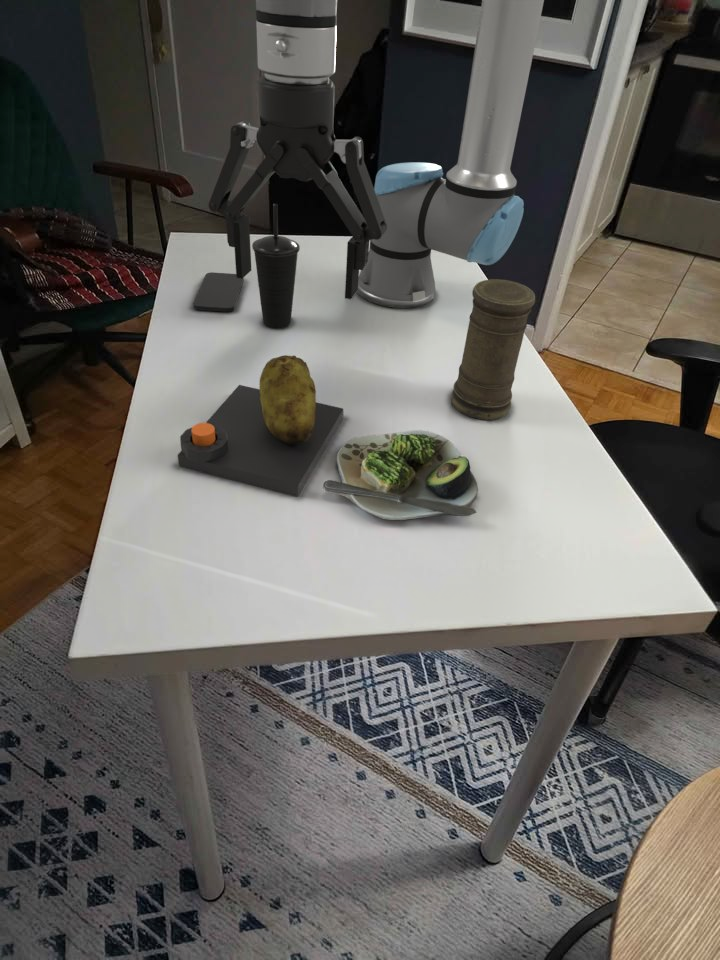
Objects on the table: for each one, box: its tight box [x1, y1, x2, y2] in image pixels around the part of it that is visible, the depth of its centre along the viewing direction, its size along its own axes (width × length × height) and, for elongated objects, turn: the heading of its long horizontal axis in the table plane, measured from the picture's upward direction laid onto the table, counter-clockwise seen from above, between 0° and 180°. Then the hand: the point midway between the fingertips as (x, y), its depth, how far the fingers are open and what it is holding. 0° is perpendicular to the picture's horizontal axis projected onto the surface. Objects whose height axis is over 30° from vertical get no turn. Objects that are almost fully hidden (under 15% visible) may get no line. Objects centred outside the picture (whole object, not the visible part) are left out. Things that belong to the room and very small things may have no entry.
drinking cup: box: [251, 203, 301, 330], centre depth 107 cm, size 8×8×20 cm
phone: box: [192, 271, 245, 313], centre depth 121 cm, size 7×1×15 cm
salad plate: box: [322, 429, 479, 521], centre depth 80 cm, size 19×18×5 cm
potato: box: [259, 354, 317, 445], centre depth 85 cm, size 8×13×8 cm, turn 175°
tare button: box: [191, 422, 216, 446], centre depth 80 cm, size 3×3×2 cm
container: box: [450, 278, 536, 421], centre depth 92 cm, size 9×9×18 cm
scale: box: [177, 384, 344, 497], centre depth 86 cm, size 18×16×4 cm
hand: (296, 284), depth 77 cm, fingers open, 13 cm apart
